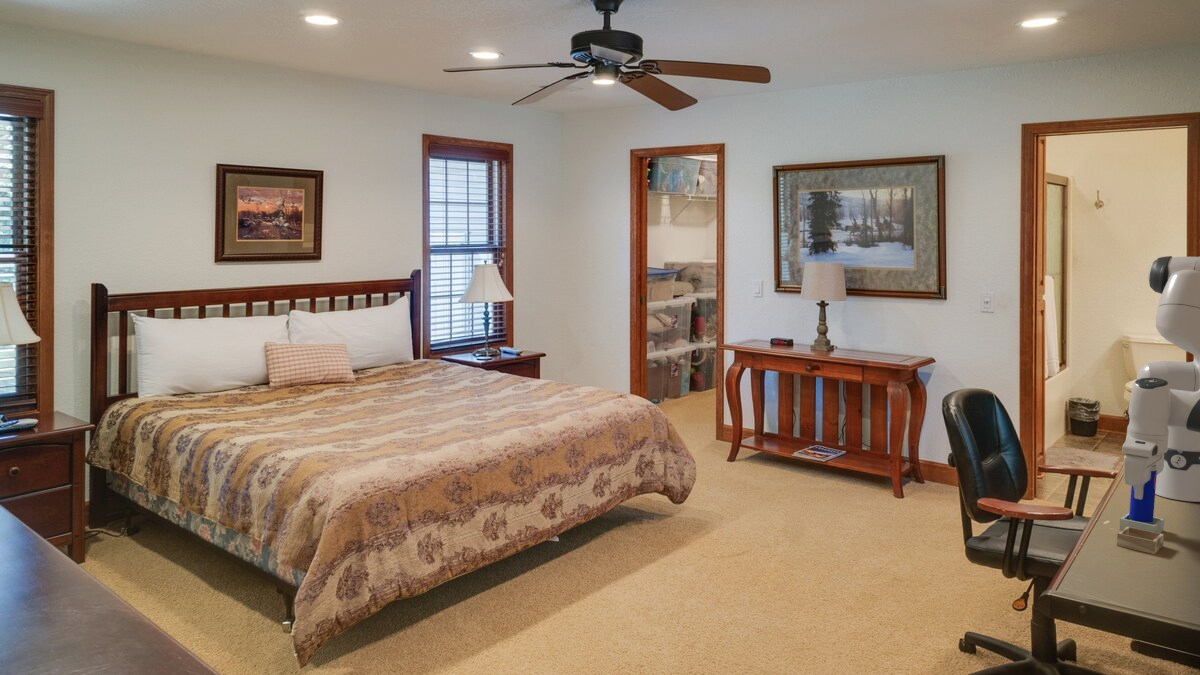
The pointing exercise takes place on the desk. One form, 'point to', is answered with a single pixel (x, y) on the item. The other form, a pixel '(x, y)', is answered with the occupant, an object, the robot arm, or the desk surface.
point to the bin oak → (1140, 540)
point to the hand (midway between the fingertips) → (1142, 495)
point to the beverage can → (1144, 501)
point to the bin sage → (1142, 524)
